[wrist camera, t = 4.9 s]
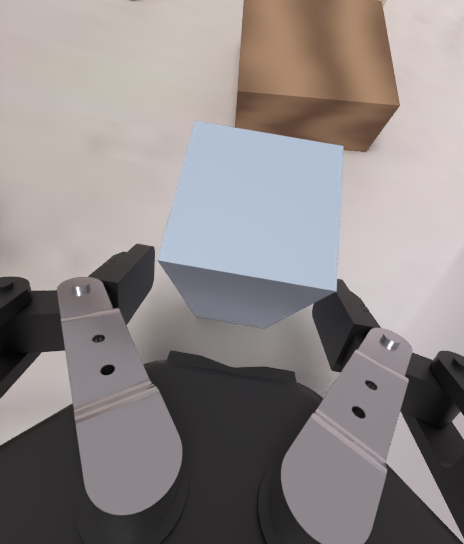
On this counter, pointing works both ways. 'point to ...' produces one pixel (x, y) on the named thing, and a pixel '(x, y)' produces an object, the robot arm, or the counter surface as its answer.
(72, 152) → the counter surface
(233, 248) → the light blue block
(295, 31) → the walnut block
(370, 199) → the counter surface
